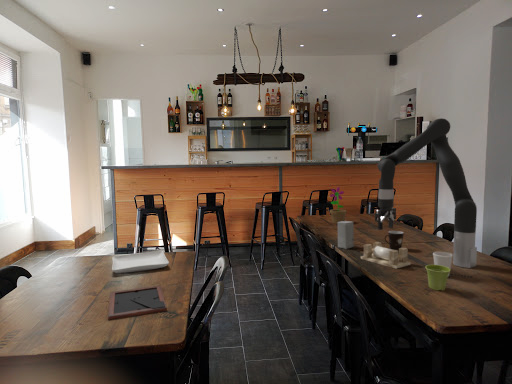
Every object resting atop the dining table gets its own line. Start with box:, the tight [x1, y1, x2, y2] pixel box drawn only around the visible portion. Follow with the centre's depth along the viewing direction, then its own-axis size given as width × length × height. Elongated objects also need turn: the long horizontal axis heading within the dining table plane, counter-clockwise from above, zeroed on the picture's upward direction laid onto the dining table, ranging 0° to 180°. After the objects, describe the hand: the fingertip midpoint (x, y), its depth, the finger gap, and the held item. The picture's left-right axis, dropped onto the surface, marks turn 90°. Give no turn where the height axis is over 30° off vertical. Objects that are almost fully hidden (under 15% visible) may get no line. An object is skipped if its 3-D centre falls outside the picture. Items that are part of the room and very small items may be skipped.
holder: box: [360, 241, 412, 269], centre depth 188 cm, size 22×12×8 cm, turn 33°
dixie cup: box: [432, 251, 453, 277], centre depth 165 cm, size 8×8×10 cm
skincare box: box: [337, 220, 355, 250], centre depth 219 cm, size 8×7×16 cm
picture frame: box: [107, 284, 168, 321], centre depth 139 cm, size 20×2×25 cm
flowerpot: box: [329, 186, 348, 225], centre depth 301 cm, size 14×14×30 cm
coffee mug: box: [384, 230, 404, 251], centre depth 213 cm, size 12×9×10 cm
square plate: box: [111, 250, 170, 274], centre depth 188 cm, size 27×27×4 cm
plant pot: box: [425, 264, 451, 291], centre depth 149 cm, size 9×9×9 cm
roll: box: [372, 246, 403, 261], centre depth 188 cm, size 19×6×6 cm, turn 34°
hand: (385, 228), depth 186 cm, fingers open, 8 cm apart
